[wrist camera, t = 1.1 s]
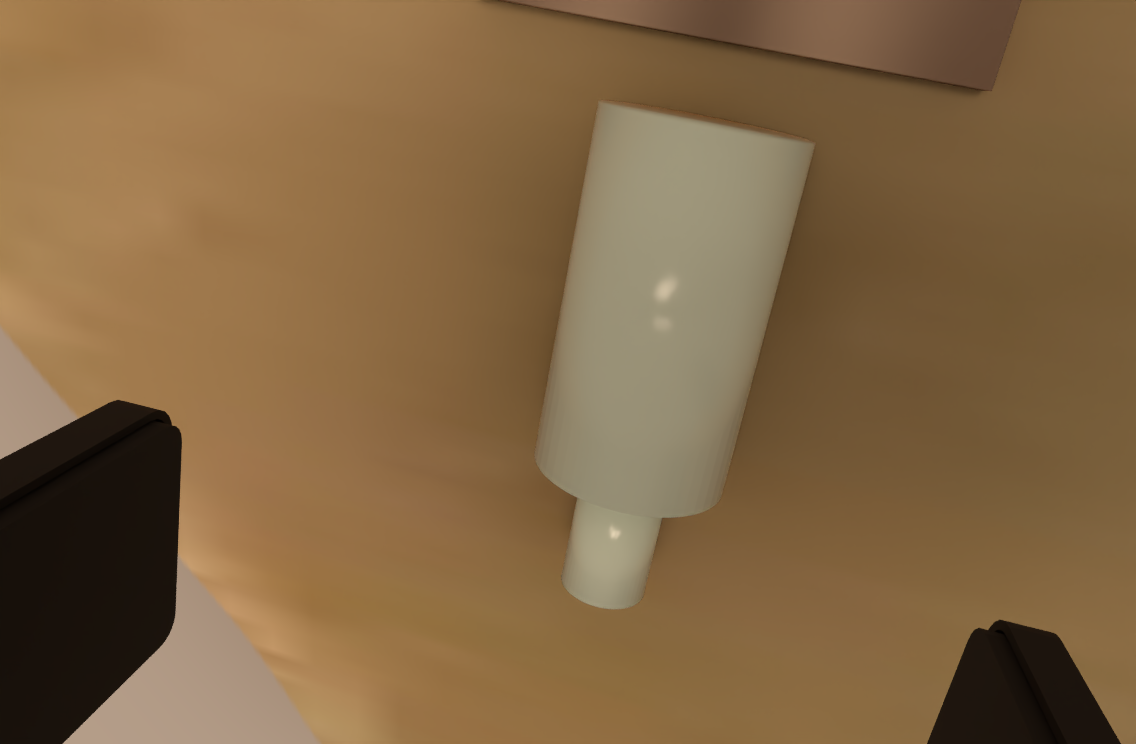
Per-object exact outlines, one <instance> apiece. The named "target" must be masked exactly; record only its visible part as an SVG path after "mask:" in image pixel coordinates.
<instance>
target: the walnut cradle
mask: <svg viewBox="0 0 1136 744" xmlns="http://www.w3.org/2000/svg"><path fill="white" fill-rule="evenodd" d="M500 1H505V2H510V3H516V4H521V5H526V6H532V7H537V8H542V9H548V10H553V11H558V12H564V13H569V14H575V15H580V16H585V17H591V18H596V19H601V20H607V21H612V22H617V23H623V24H628V25H634V26H639V27H644V28H650V29H655V30H660V31H666V32H671V33H676V34H682V35H687V36H693V37H698V38H703V39H709V40H714V41H719V42H725V43H730V44H735V45H741V46H746V47H752V48H757V49H762V50H768V51H773V52H778V53H784V54H789V55H794V56H800V57H805V58H811V59H816V60H821V61H827V62H832V63H837V64H843V65H848V66H853V67H859V68H864V69H869V70H875V71H880V72H886V73H891V74H896V75H902V76H907V77H912V78H918V79H923V80H928V81H934V82H939V83H945V84H950V85H955V86H961V87H966V88H971V89H977V90H982V91H992V89H993V86H994V83H995V80H996V77H997V74H998V71H999V68H1000V64H1001V61H1002V58H1003V55H1004V52H1005V49H1006V46H1007V43H1008V40H1009V37H1010V34H1011V31H1012V28H1013V24H1014V21H1015V18H1016V15H1017V12H1018V9H1019V6H1020V3H1021V0H500Z"/></svg>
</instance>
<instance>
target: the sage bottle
mask: <svg viewBox="0 0 1136 744" xmlns="http://www.w3.org/2000/svg"><path fill="white" fill-rule="evenodd" d="M815 144H816V143H815V142H813V141H811V140H808V139H805V138H802V137H798V136H794V135H791V134H787V133H783V132H779V131H775V130H770V129H766V128H762V127H757V126H753V125H748V124H744V123H739V122H734V121H729V120H724V119H719V118H714V117H709V116H704V115H699V114H693V113H688V112H683V111H677V110H672V109H666V108H660V107H654V106H648V105H642V104H635V103H628V102H620V101H611V100H599V101H598V107H597V112H596V118H595V123H594V129H593V134H592V140H591V145H590V151H589V156H588V162H587V167H586V173H585V178H584V184H583V189H582V194H581V200H580V205H579V211H578V216H577V222H576V227H575V233H574V238H573V244H572V249H571V255H570V260H569V266H568V271H567V277H566V282H565V288H564V293H563V298H562V304H561V309H560V315H559V320H558V326H557V331H556V337H555V342H554V348H553V353H552V359H551V364H550V370H549V375H548V381H547V386H546V392H545V397H544V402H543V408H542V413H541V419H540V424H539V430H538V435H537V441H536V446H535V452H534V457H535V461H536V464H537V466H538V467H539V469H540V470H541V472H542V473H543V474H544V475H545V476H546V477H547V478H548V479H549V480H550V481H551V482H552V483H554V484H555V485H557V486H558V487H559V488H561V489H562V490H564V491H566V492H567V493H569V494H571V495H573V496H575V497H577V502H576V506H575V511H574V516H573V521H572V526H571V531H570V536H569V541H568V546H567V550H566V555H565V560H564V565H563V570H562V575H561V580H562V583H563V585H564V587H565V588H566V590H567V591H568V592H569V593H570V594H571V595H573V596H574V597H575V598H577V599H579V600H580V601H582V602H584V603H587V604H589V605H592V606H596V607H600V608H605V609H624V608H628V607H631V606H634V605H636V604H637V603H639V602H640V601H641V600H642V598H643V595H644V592H645V587H646V583H647V579H648V575H649V571H650V567H651V563H652V559H653V555H654V550H655V546H656V542H657V538H658V534H659V530H660V526H661V522H662V518H674V517H685V516H691V515H695V514H699V513H702V512H704V511H706V510H709V509H710V508H712V507H713V506H715V505H716V504H717V503H718V502H719V501H720V498H721V496H722V493H723V490H724V486H725V482H726V478H727V475H728V471H729V467H730V463H731V460H732V456H733V452H734V448H735V445H736V441H737V437H738V433H739V430H740V426H741V422H742V418H743V414H744V411H745V407H746V403H747V399H748V396H749V392H750V388H751V384H752V381H753V377H754V373H755V369H756V366H757V362H758V358H759V354H760V351H761V347H762V343H763V339H764V336H765V332H766V328H767V324H768V321H769V317H770V313H771V309H772V306H773V302H774V298H775V294H776V290H777V287H778V283H779V279H780V275H781V272H782V268H783V264H784V260H785V257H786V253H787V249H788V245H789V242H790V238H791V234H792V230H793V227H794V223H795V219H796V215H797V212H798V208H799V204H800V200H801V197H802V193H803V189H804V185H805V182H806V178H807V174H808V170H809V166H810V163H811V159H812V155H813V151H814V148H815Z"/></svg>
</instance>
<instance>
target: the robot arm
mask: <svg viewBox="0 0 1136 744" xmlns="http://www.w3.org/2000/svg"><path fill="white" fill-rule="evenodd" d="M181 449H182V438H181V433H180V430H179V429H178V428H177V427H176V426H172V423H171V420H170V417H169V415H168V414H167V413H166V412H165V411H161V410H157V409H153V408H149V407H145V406H141V405H137V404H133V403H129V402H125V401H121V400H116V401H113V402H110V403H108V404H106V405H104V406H102V407H100V408H98V409H96V410H95V411H93V412H91V413H89V414H87V415H85V416H83V417H81V418H79V419H77V420H75V421H73V422H71V423H70V424H68V425H66V426H64V427H62V428H60V429H58V430H56V431H55V432H52V433H50V434H48V435H47V436H45V437H43V438H41V439H39V440H37V441H35V442H33V443H31V444H29V445H27V446H26V447H23V448H21V449H19V450H18V451H16V452H14V453H12V454H10V455H8V456H6V457H4V458H2V459H0V744H63V743H64V741H66V740H67V739H68V738H69V737H70V736H71V735H72V734H73V733H74V731H76V729H78V728H79V727H80V726H81V725H82V724H83V723H84V722H85V721H86V720H87V719H88V718H89V717H90V716H91V715H92V714H93V713H94V712H95V711H96V710H97V709H98V708H99V707H100V706H101V705H102V704H103V703H104V702H105V701H106V700H107V699H108V698H109V697H110V696H111V695H112V694H113V693H114V692H115V691H116V690H117V689H118V688H119V687H120V686H121V685H122V684H123V683H124V682H125V681H126V680H127V679H128V678H129V677H130V676H131V675H132V674H133V673H134V672H135V671H136V670H137V669H138V668H139V667H140V666H141V665H142V664H143V663H144V662H145V661H146V660H147V659H148V658H149V657H150V656H151V655H152V654H154V653H155V651H157V650H158V649H159V648H160V646H161V645H162V644H163V643H164V642H165V640H166V639H167V637H168V635H169V633H170V631H171V629H172V626H173V623H174V618H175V609H176V607H175V606H176V582H177V556H178V529H179V502H180V475H181ZM927 744H1121V743H1120V741H1119V740H1118V738H1117V736H1116V735H1115V733H1114V731H1113V729H1112V728H1111V726H1110V724H1109V722H1108V721H1107V719H1106V717H1105V715H1104V714H1103V712H1102V710H1101V709H1100V707H1099V705H1098V703H1097V702H1096V700H1095V698H1094V696H1093V695H1092V693H1091V691H1090V690H1089V688H1088V686H1087V684H1086V683H1085V681H1084V679H1083V677H1082V676H1081V674H1080V672H1079V670H1078V669H1077V667H1076V665H1075V664H1074V662H1073V660H1072V658H1071V657H1070V655H1069V653H1068V651H1067V650H1066V648H1065V646H1064V644H1063V643H1062V641H1061V639H1060V638H1059V637H1058V636H1057V635H1056V634H1054V633H1051V632H1047V631H1043V630H1039V629H1035V628H1031V627H1027V626H1023V625H1019V624H1015V623H1011V622H1007V621H1003V620H998V621H996V622H994V623H993V625H992V626H991V627H990V628H989V630H985V629H981V628H978V629H975V630H974V631H973V633H972V634H971V636H970V638H969V640H968V642H967V644H966V647H965V649H964V652H963V655H962V657H961V660H960V662H959V665H958V667H957V670H956V672H955V675H954V677H953V680H952V682H951V685H950V687H949V690H948V692H947V695H946V697H945V700H944V702H943V705H942V708H941V710H940V713H939V715H938V718H937V720H936V723H935V725H934V728H933V730H932V733H931V735H930V738H929V740H928V743H927Z"/></svg>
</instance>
